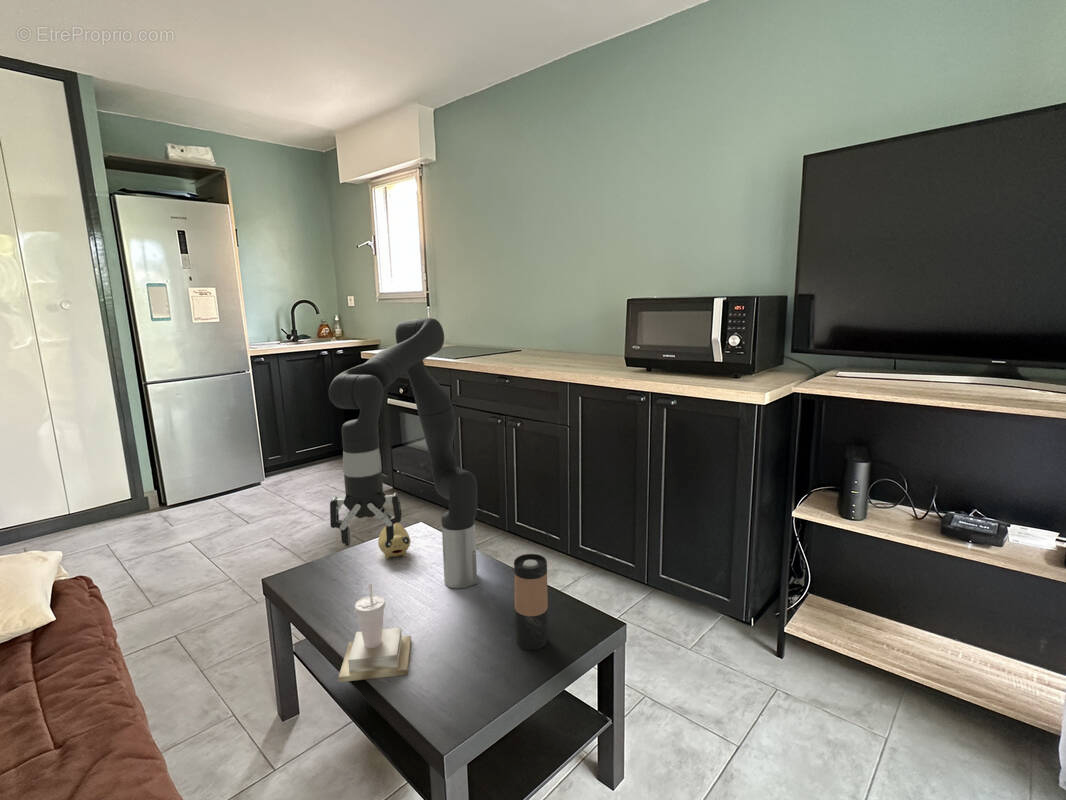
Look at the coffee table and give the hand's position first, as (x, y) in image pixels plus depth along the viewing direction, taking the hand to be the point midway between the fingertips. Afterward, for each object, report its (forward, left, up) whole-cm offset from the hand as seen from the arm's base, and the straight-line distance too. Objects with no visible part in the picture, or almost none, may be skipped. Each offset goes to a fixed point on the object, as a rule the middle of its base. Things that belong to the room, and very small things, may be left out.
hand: (368, 542), depth 114 cm
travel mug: (-35, -1, -28) cm, 45 cm away
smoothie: (+1, 0, -24) cm, 24 cm away
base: (0, 0, -28) cm, 28 cm away
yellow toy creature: (+1, -51, -28) cm, 58 cm away
